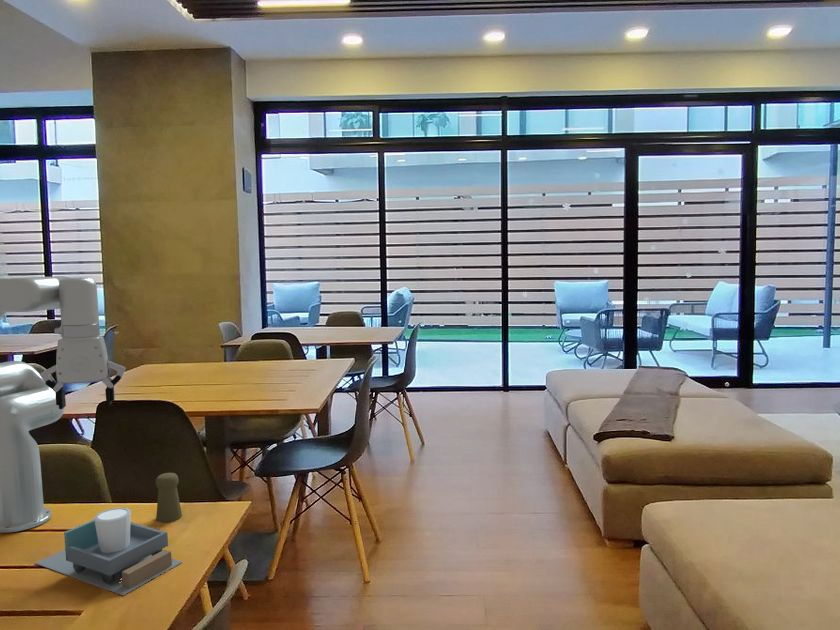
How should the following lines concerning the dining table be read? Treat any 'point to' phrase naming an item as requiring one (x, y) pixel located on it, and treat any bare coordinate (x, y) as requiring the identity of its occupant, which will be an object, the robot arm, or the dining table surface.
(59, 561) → the track
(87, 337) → the robot arm
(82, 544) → the cart
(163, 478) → the olive pepper shaker
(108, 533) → the white tapered cup
